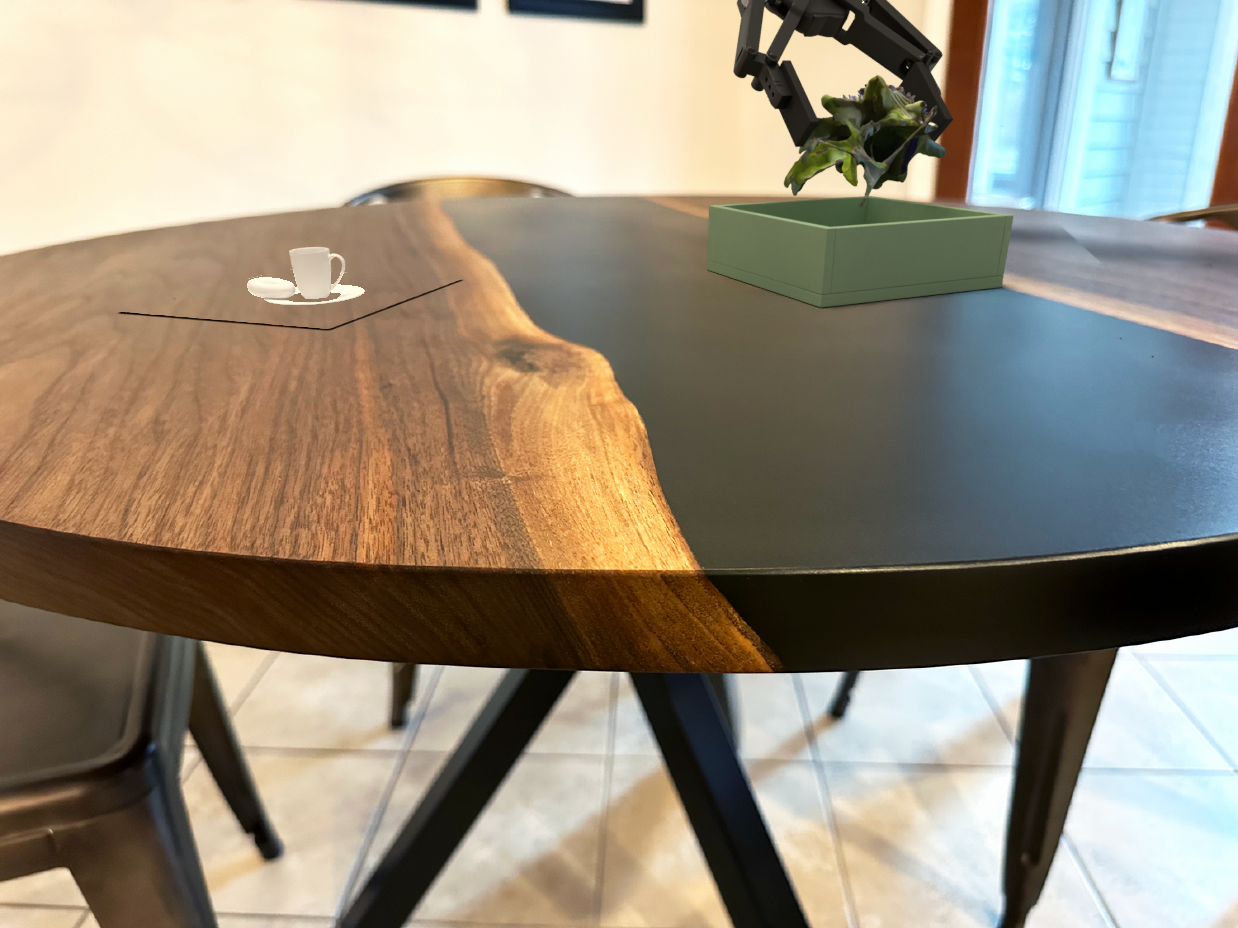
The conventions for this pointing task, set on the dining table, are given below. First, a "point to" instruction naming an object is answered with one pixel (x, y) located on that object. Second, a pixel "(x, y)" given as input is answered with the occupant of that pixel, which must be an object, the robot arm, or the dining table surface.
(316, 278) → the teacup and saucer
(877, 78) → the green leafy lump
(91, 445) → the dining table surface
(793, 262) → the green open box
